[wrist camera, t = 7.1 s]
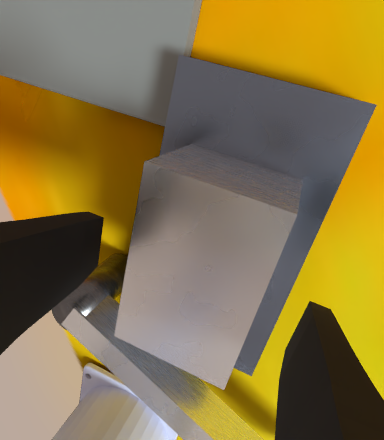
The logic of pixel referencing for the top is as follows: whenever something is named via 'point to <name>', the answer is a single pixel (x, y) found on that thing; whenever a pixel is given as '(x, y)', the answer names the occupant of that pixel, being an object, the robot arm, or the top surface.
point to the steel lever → (145, 362)
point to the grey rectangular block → (202, 257)
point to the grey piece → (269, 154)
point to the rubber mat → (100, 49)
